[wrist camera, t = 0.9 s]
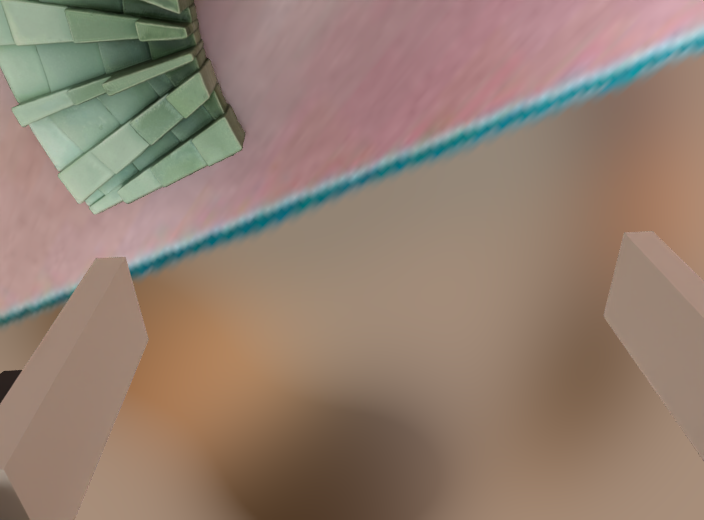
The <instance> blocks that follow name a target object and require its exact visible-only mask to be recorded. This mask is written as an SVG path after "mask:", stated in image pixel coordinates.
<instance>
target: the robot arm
mask: <svg viewBox="0 0 704 520" xmlns="http://www.w3.org/2000/svg"><path fill="white" fill-rule="evenodd" d="M604 318H605V319H606V320H607V322H608V323H609V325H610V326H611V328H612V329H613V331H614V332H615V334H616V335H617V336H618V338H619V339H620V341H621V342H622V344H623V345H624V347H625V348H626V349H627V351H628V352H629V354H630V355H631V357H632V358H633V359H634V361H635V362H636V364H637V365H638V367H639V368H640V370H641V371H642V373H643V374H644V375H645V377H646V378H647V380H648V381H649V383H650V384H651V386H652V387H653V388H654V390H655V391H656V393H657V394H658V396H659V397H660V399H661V400H662V401H663V403H664V404H665V406H666V407H667V409H668V410H669V412H670V413H671V414H672V416H673V417H674V419H675V420H676V422H677V423H678V425H679V426H680V428H681V429H682V431H683V432H684V433H685V435H686V436H687V438H688V439H689V440H690V442H691V444H692V445H693V446H694V448H695V449H696V451H697V452H698V454H699V455H700V457H701V458H702V459H703V461H704V281H703V280H702V279H701V278H700V277H699V276H698V275H697V274H696V273H695V272H694V271H693V270H692V269H691V268H690V267H689V266H688V265H687V264H686V263H684V261H683V260H682V259H681V258H680V257H679V256H677V255H676V254H675V253H674V252H673V251H672V250H671V249H670V248H669V247H668V246H667V245H666V244H665V243H664V242H663V241H662V240H661V239H660V238H659V237H658V236H657V235H656V234H655V233H654V232H653V231H649V232H629V233H624V235H623V239H622V244H621V248H620V251H619V255H618V259H617V264H616V267H615V272H614V275H613V280H612V283H611V288H610V292H609V296H608V300H607V304H606V308H605V312H604ZM147 342H148V336H147V332H146V329H145V325H144V322H143V318H142V314H141V311H140V307H139V304H138V300H137V296H136V293H135V289H134V286H133V282H132V279H131V275H130V271H129V268H128V264H127V261H126V257H114V258H96V259H95V260H94V262H93V264H92V265H91V267H90V268H89V270H88V271H87V273H86V274H85V276H84V277H83V279H82V280H81V282H80V283H79V285H78V286H77V288H76V289H75V291H74V292H73V294H72V295H71V297H70V299H69V300H68V302H67V303H66V305H65V306H64V308H63V309H62V311H61V312H60V314H59V315H58V317H57V318H56V320H55V321H54V323H53V325H52V326H51V327H50V329H49V330H48V332H47V334H46V335H45V337H44V338H43V340H42V341H41V343H40V344H39V346H38V347H37V349H36V350H35V352H34V353H33V355H32V356H31V358H30V359H29V361H28V363H27V364H26V365H25V367H24V369H23V370H15V371H3V372H2V373H1V374H0V520H75V518H76V515H77V513H78V510H79V508H80V506H81V503H82V501H83V498H84V496H85V493H86V491H87V488H88V485H89V484H90V481H91V478H92V476H93V474H94V471H95V469H96V466H97V464H98V462H99V459H100V457H101V454H102V452H103V449H104V447H105V444H106V442H107V440H108V437H109V435H110V432H111V430H112V427H113V425H114V423H115V420H116V418H117V415H118V413H119V410H120V408H121V405H122V403H123V401H124V398H125V396H126V393H127V391H128V388H129V386H130V384H131V381H132V379H133V376H134V374H135V371H136V369H137V366H138V364H139V362H140V359H141V357H142V354H143V352H144V349H145V347H146V344H147Z"/></svg>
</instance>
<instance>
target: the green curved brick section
mask: <svg viewBox="0 0 704 520" xmlns="http://www.w3.org/2000/svg"><path fill="white" fill-rule="evenodd" d="M203 45H204V43H203V40H202V39H201V35H200V31H199V23H198V19H197V13H196V8H195V5H194V0H0V68H1V70H2V72H3V74H4V76H5V78H6V80H7V83H8V85H9V86H10V89H11V90H12V92H13V94H14V96H15V98H16V100H17V102H18V103H19V105H17V106H15V107H13V108H12V112H13V113H14V115H15V117H16V118H17V120H18V122H19V124H20V125H21V126H22V127H26V126H27V125H28V124H29V126H30V128H31V129H32V132H33V133H34V135H35V136H36V138H37V140H38V141H39V143H40V144H41V146H42V147H43V149H44V150H45V152H46V154H47V155H48V156H49V158H50V159H51V161H52V162H53V164H54V165H55V167H56V169H57V170H58V171H59V172H60V173H59V174H58V177H59V179H60V180H61V181H62V183H63V184H64V185H65V186H66V188H67V190H68V191H69V192H70V193H71V194H72V196H73V197H74V198H75V200H76V201H77V203H78V204H81V203H83V202H84V201H85V202H86V203H87V205H88V206H90V207H89V209H90V210H91V211H92V213H93V214H99V213H101V212H103V211H105V210H107V209H109V208H111V207H112V206H115V205H117V204H118V203H121V202H122V201H124V202H125V203H127V204H129V203H132V202H134V201H135V200H137V199H139V198H141V197H144V196H145V195H148V194H149V193H151V192H154V191H155V190H158V189H160V188H161V187H167V186H169V185H171V184H173V183H175V182H176V181H178V180H180V179H182V178H184V177H186V176H188V175H191V174H193V173H194V172H196V171H198V170H200V169H202V168H204V167H206V166H212V165H213V164H215V163H218V162H220V161H222V160H224V159H226V158H227V157H230V156H233V155H234V154H236V153H237V152H239V151H241V150H242V149H243V142H244V139H245V138H244V137H245V132H244V131H243V129H242V127H241V125H240V124H239V122H238V121H237V118H236V115H235V113H234V111H233V109H232V108H231V106H230V105H229V104H227V103H226V101H225V98H224V96H223V95H222V92H221V89H220V86H219V83H218V82H217V79H216V76H215V73H214V71H213V67H212V64H211V61H210V59H208V58H206V55H205V51H204V48H203Z"/></svg>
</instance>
